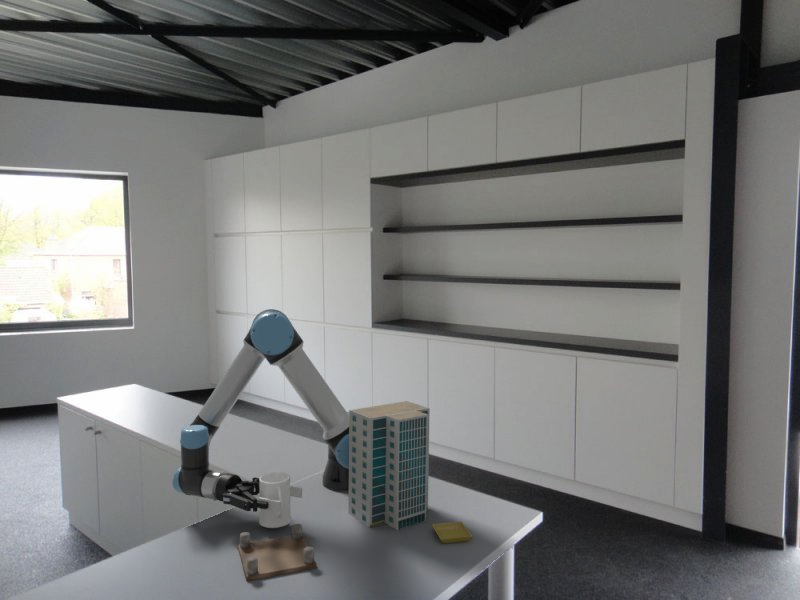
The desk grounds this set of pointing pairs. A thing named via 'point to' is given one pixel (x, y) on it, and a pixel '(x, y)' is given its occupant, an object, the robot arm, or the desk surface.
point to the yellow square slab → (452, 532)
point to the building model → (389, 464)
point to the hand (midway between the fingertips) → (291, 499)
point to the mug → (275, 489)
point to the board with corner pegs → (275, 555)
